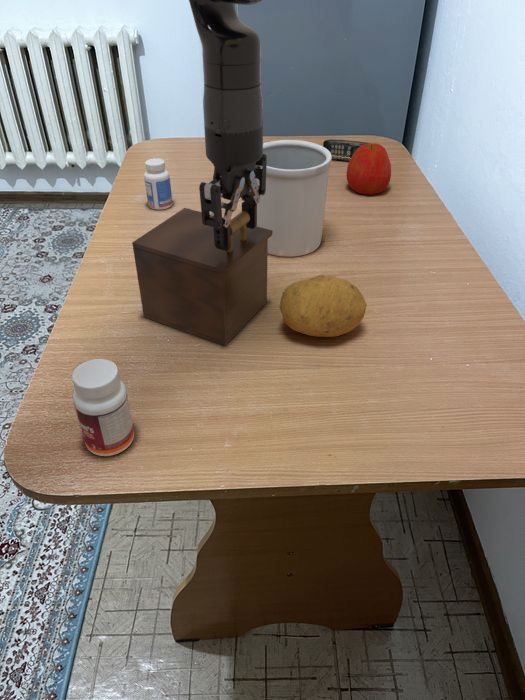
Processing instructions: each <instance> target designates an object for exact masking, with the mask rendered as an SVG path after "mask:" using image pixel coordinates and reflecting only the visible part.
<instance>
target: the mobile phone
mask: <svg viewBox="0 0 525 700" xmlns="http://www.w3.org/2000/svg"><path fill="white" fill-rule="evenodd" d="M364 144H373V143H371V142H366V141H358V140H347V139H331V138H330V139H325V140H324V141H323V143H322V146H323V147H324V148H326V149H327V150H329V151H330V153H331V155H335V156H341V157H333V156H332V161H333V160H334V161H340V162H341V161H342V162H349V161H350V158H351V157H352V155H353V154H354V153H355V151H356V150H357V149H358V148H359V147H360V146H362V145H364ZM342 157H350V158H342Z"/></svg>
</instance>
